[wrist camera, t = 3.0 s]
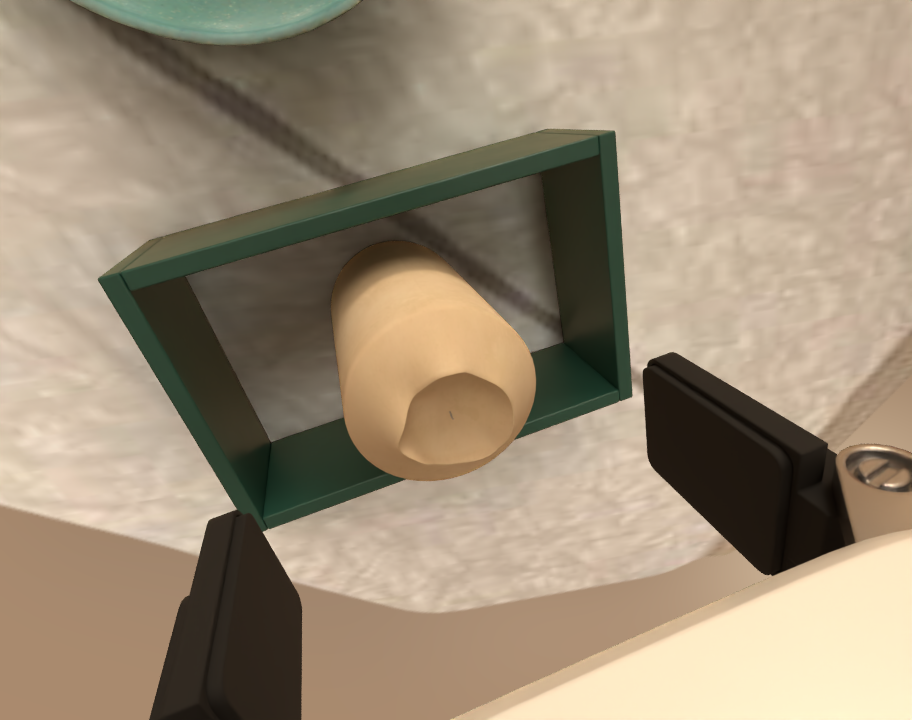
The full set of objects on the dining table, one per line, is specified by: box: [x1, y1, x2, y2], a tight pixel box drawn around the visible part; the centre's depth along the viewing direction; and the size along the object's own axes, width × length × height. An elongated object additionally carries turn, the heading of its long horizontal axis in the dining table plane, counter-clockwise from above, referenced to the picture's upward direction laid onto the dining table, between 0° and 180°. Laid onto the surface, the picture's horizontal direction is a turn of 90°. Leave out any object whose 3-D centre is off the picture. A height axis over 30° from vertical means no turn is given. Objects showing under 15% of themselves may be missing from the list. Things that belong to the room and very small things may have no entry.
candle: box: [331, 241, 536, 481], centre depth 17 cm, size 6×6×10 cm
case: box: [98, 129, 632, 532], centre depth 19 cm, size 10×16×5 cm, turn 104°
